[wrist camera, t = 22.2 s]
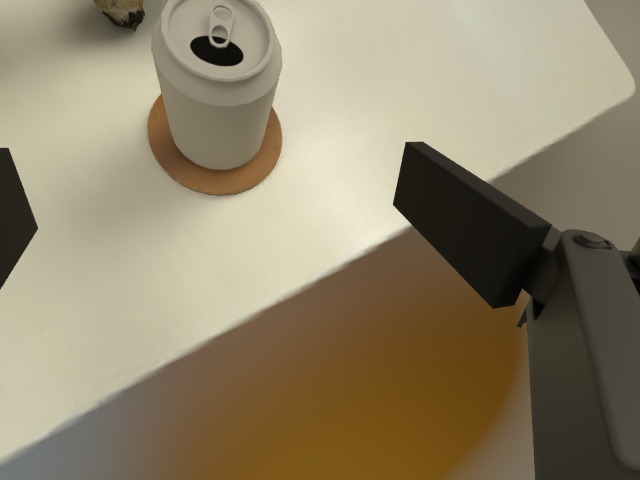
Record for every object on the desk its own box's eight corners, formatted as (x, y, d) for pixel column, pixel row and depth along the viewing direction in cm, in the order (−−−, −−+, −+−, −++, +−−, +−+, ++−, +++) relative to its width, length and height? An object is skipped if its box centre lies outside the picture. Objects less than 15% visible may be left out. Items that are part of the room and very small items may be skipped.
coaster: (117, 126, 30) (116, 123, 30) (218, 55, 34) (218, 51, 34) (217, 221, 31) (218, 220, 30) (306, 141, 34) (307, 138, 34)
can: (163, 164, 30) (132, 69, 19) (179, 83, 32) (160, -49, 21) (257, 181, 32) (280, 102, 21) (267, 103, 34) (293, -8, 22)
